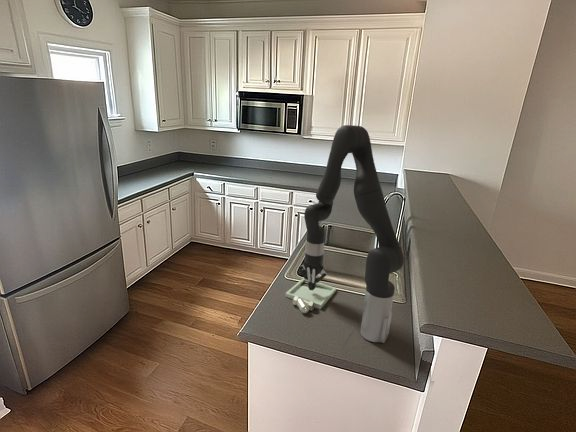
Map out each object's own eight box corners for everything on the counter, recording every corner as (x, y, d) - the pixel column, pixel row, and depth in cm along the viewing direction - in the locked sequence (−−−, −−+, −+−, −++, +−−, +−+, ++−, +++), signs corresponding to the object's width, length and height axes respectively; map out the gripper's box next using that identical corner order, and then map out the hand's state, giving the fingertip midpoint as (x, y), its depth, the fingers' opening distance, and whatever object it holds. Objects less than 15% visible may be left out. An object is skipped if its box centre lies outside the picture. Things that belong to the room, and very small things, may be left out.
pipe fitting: (307, 317, 127) (314, 308, 133) (308, 308, 126) (315, 300, 132) (288, 310, 131) (295, 302, 136) (289, 301, 129) (296, 293, 135)
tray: (336, 292, 145) (336, 288, 145) (320, 309, 132) (320, 305, 131) (303, 281, 153) (303, 277, 152) (285, 297, 139) (285, 293, 139)
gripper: (333, 252, 136) (329, 290, 142) (304, 244, 143) (301, 281, 148) (325, 258, 130) (322, 298, 135) (295, 250, 136) (293, 288, 142)
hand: (311, 289), depth 142 cm, fingers closed
